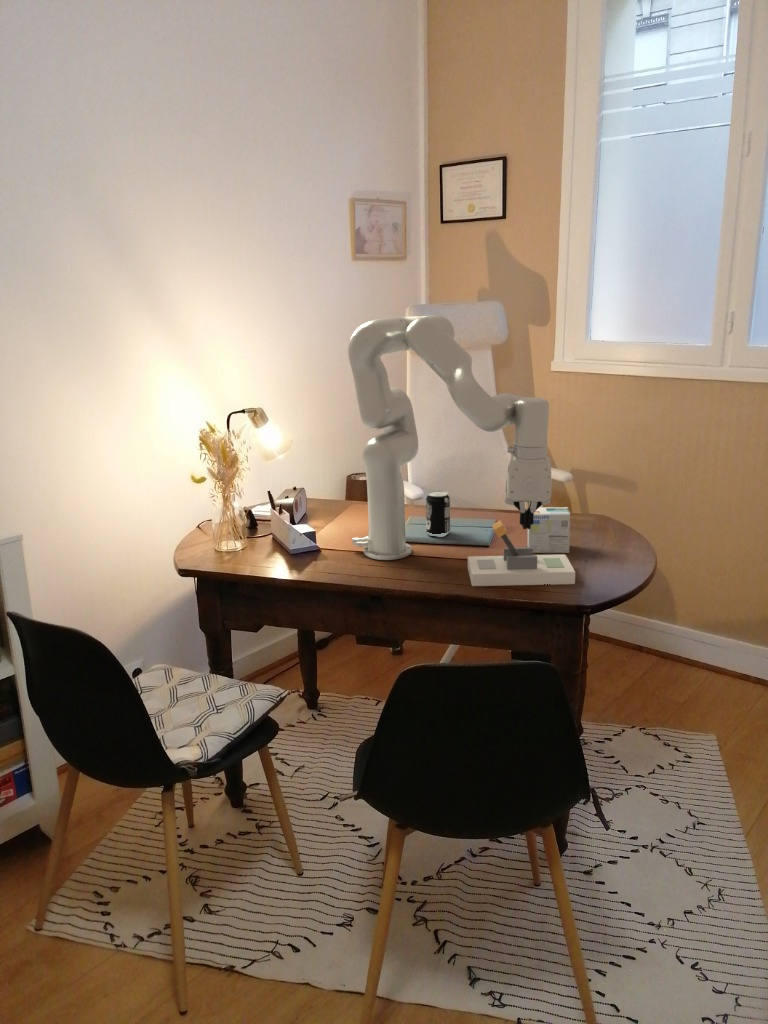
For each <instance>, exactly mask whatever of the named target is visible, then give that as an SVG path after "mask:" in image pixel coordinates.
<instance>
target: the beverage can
mask: <svg viewBox="0 0 768 1024" xmlns="http://www.w3.org/2000/svg"><path fill="white" fill-rule="evenodd" d="M425 511H426V512H425V515H426V516H425V518H426V525H425V526H426V533H427V532H429V533H432V534H441V533H447V532H449V531H450V532H451V498H450V495H449V492H448V491H447V490H446V491H445V490H432V491H429V492H427V496H426V498H425Z"/></svg>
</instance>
